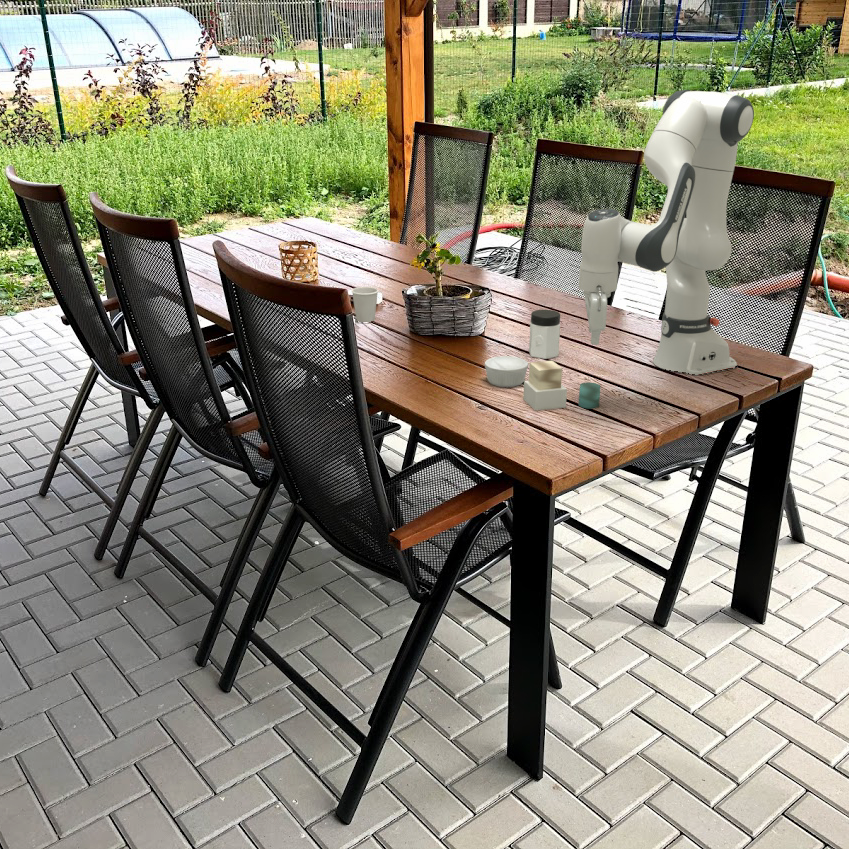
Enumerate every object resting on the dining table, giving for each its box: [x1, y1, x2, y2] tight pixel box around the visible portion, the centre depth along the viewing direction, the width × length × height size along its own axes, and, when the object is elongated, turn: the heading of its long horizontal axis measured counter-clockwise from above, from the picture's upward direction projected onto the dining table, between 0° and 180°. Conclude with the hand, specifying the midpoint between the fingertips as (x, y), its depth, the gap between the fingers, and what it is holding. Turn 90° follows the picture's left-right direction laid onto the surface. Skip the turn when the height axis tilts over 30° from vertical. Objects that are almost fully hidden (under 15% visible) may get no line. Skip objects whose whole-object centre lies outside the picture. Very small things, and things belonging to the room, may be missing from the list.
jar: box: [528, 309, 561, 360], centre depth 260 cm, size 9×8×12 cm
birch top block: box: [528, 360, 563, 390], centre depth 226 cm, size 6×6×5 cm
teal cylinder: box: [578, 381, 601, 410], centre depth 226 cm, size 5×5×5 cm
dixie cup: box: [351, 286, 379, 322], centre depth 290 cm, size 8×8×10 cm
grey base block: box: [522, 379, 568, 411], centre depth 227 cm, size 8×8×5 cm
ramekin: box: [484, 355, 529, 388], centre depth 241 cm, size 11×11×5 cm
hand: (593, 337), depth 221 cm, fingers open, 8 cm apart
